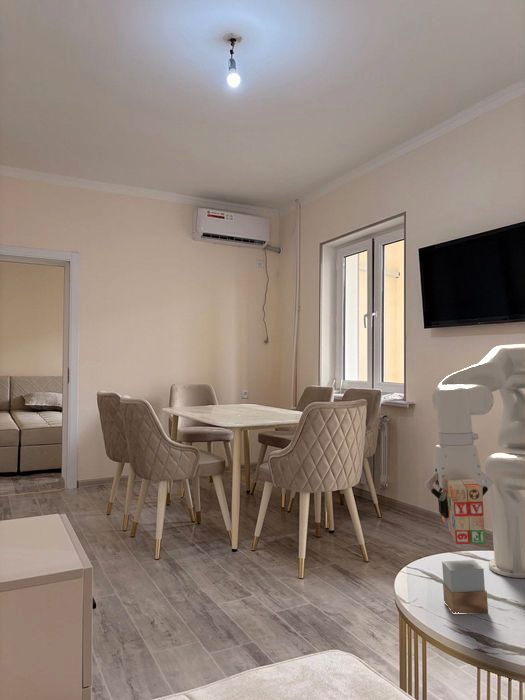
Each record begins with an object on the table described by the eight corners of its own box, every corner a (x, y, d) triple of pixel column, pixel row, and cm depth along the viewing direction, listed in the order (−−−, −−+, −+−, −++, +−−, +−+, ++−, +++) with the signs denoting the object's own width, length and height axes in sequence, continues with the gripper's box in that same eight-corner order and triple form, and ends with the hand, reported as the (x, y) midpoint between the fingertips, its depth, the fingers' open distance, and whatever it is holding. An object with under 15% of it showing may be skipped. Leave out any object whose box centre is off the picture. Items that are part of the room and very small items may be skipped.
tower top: (475, 580, 126) (473, 559, 127) (484, 590, 121) (483, 568, 121) (443, 582, 126) (442, 561, 127) (451, 592, 121) (450, 570, 121)
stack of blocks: (439, 516, 135) (436, 467, 136) (465, 515, 134) (462, 467, 135) (455, 544, 114) (452, 487, 115) (486, 544, 113) (482, 486, 114)
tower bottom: (477, 602, 126) (476, 580, 126) (488, 613, 120) (486, 591, 120) (444, 603, 126) (442, 582, 126) (453, 615, 120) (451, 593, 120)
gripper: (485, 435, 128) (490, 509, 128) (414, 439, 128) (418, 513, 128) (499, 439, 121) (504, 518, 120) (423, 443, 121) (428, 522, 120)
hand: (460, 515), depth 124 cm, fingers closed on stack of blocks, 6 cm apart
